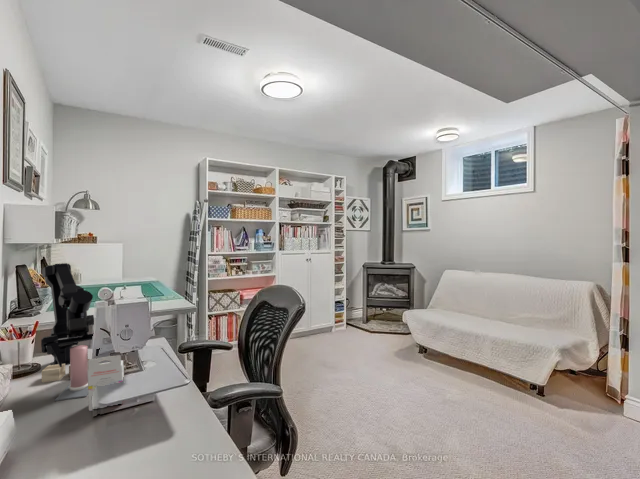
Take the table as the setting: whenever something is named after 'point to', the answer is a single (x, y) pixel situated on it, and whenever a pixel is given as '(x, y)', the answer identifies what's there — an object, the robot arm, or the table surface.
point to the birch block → (53, 373)
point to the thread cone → (78, 367)
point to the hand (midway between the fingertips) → (79, 362)
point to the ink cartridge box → (103, 373)
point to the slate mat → (72, 394)
